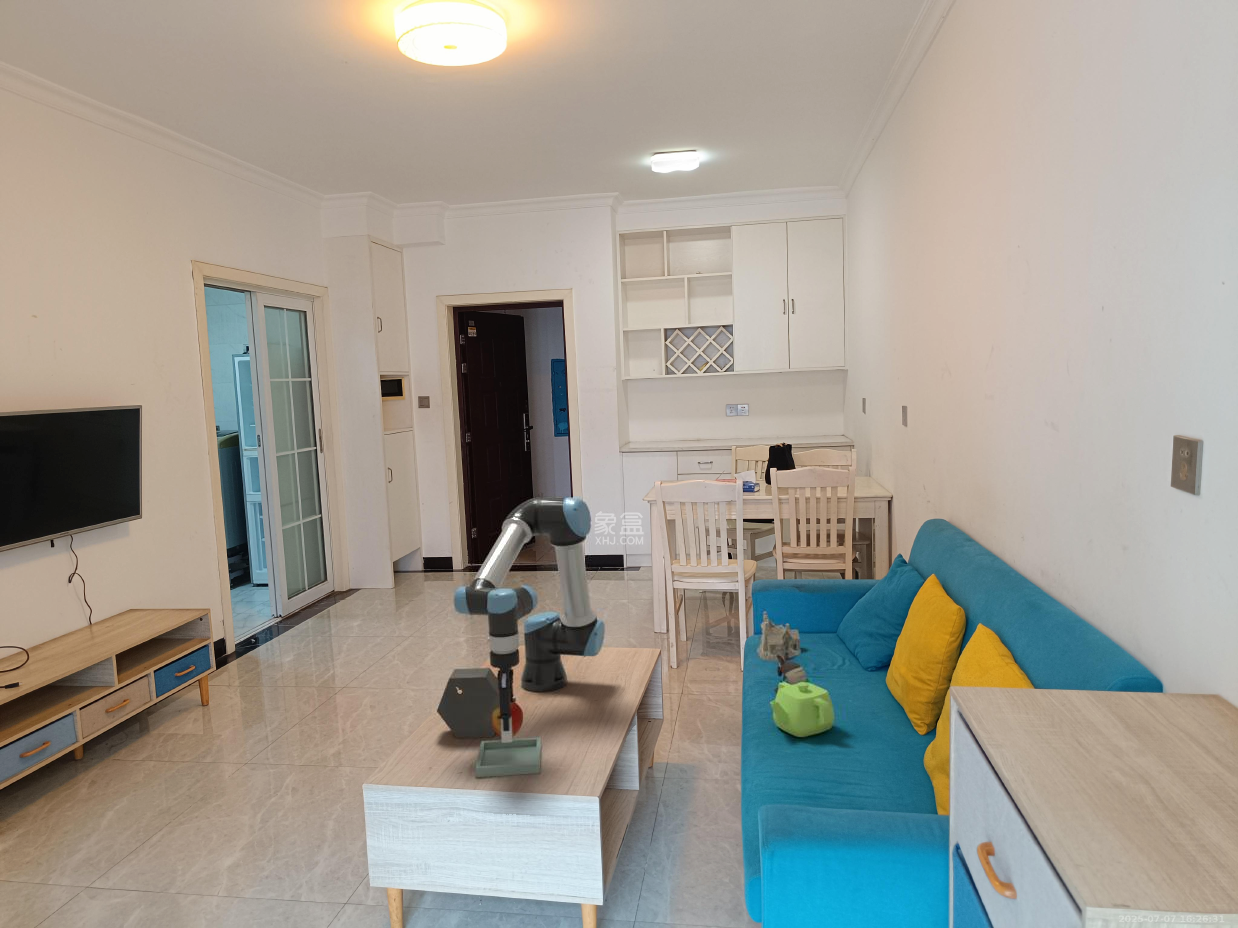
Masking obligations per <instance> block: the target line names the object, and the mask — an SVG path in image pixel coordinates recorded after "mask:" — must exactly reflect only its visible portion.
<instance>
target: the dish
mask: <svg viewBox="0 0 1238 928" xmlns="http://www.w3.org/2000/svg"><path fill="white" fill-rule="evenodd" d="M512 739H513V742H507V743H502V739H495V740H494V739H493V740H481V742H480V746H479V751H478V755H477V759H476V764H475V769H474V770H475V778H489V777H501V776H502V777H503V776H505V777H506V776H518V775H530V774H531V775H532V774H540V773H541V758H542V755H541V754H542V738H541V737H539V736H538V737H527V738H523V737H522V738H512Z"/></svg>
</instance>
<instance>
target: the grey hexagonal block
mask: <svg viewBox="0 0 1238 928" xmlns="http://www.w3.org/2000/svg"><path fill="white" fill-rule="evenodd" d="M459 691H461V693H459ZM499 706H500V696H499V689H498V679H497V675H495V673H494V672H493V670H492V669H491V668H490V667H479V668H475V667H474V668H454V670H453V672H452V673H451V675H450V676H449V678H448V681H447V683H446V686H445V689H444V691H443V694H442V696H441V699H440V702H439V704H438V707H437V710H436V712H437V714H438V715H439V716H440V718H441V719H442V720H443V722H444V723H445V724H446V726H447V727H448V728H449V729H450V731H451V733H453V735H454V736H455V738H456V739H477V738H478V739H481V738H493V737H495V734H496V731H495V730H494V728H493V725H492V713H493V711H494V710H495V709H496V708H498V707H499Z"/></svg>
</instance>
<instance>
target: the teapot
mask: <svg viewBox="0 0 1238 928" xmlns="http://www.w3.org/2000/svg"><path fill="white" fill-rule="evenodd" d="M777 687H778V692H777V694H776V695H775V696H776V697H775V700H772V701H770V702H769V705H770V706H771V709H772V711H773V712H772V718H773V721H774V723H775V726H776V727H778V728H779V729H781V730H783V731H784V732H787V733H788V734H790V735H792V736H794V737H797V738H807V737H809V736H815V735H817V734H821V733H823V732H826V731H828V730H830V729H832V727H833V725H834V723H835V713H834V708H833V707H834V706H833V702H832V699H831V697H830V694H829V691H828V690H826V689H825V688H823V687H820V686H818V685H815V684H814V683H813V684H811V683H805V682H800V683H797V684H794V685H790V684H788V683H786V681H782V683H781V682H779V683H778V686H777Z"/></svg>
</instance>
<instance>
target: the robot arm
mask: <svg viewBox="0 0 1238 928" xmlns="http://www.w3.org/2000/svg"><path fill="white" fill-rule="evenodd" d="M591 523H592V517H591V511H590V509H589V505H588V504H587V503H586V501H584V500H583V499H581V498H579V497H571V496H567V497H534V498H530V499H527V500H526V501H524V502H522V503H520V504H519V505H518V506H516V507H515V508H514V509H513V510H512V511H511V512H510V513H509V514H508V515H507V517H506V518H505V519H504V521H503V523H502V526H501V533H500V534H499V536H498V538H497V539H496V541H495V543H494V544H493V546H492V548H491V549H490V551H489V553H488V555H487V556H486V558H485V560H484V562H483V563H482V564H481V567H480V568H479V569H478V571H477V573H476V575H475V576H474V578H473V580H472V581H471V582H470V585H469V586H467V585H464V586H460V587H458V588H456V590H455V593H454V596H453V607H454V610H455V611H456V612H457V613H458V614H460V615H461V614H462V615H469V616H487V619H488V620H487V621H488V637H487V638H486V642H489V650H490V652H489V664H490V666H491V667H492V668H494V669H497V674H496V677H497V679H498V689H499V696H500V716H498V719H501V736H500V738H501V740H502V743H507V742H513V739H514V738H513V737H512V717H511V708H510V702H515V703H516V701H517V699H516V698H514V686H513V684H514V669H512V668H514V667H516V666H518V665H519V663H520V650H519V647H520V640H519V637H520V636H519V635H520V634H519V626H518V624H519V622H518V621H519V620H520V619H522V618H524V617H526V616H527V615H529V614H531V612H532V611H533V610H535V608H537V605H538V595H537V591H535V590H534V589H533V588H532V587H531V586H528V585H521V586H517V587H515V588H504V587H503V588H502V587H501V586H502V584H503V583H504V581H505V579H506V577H507V575H508V573H509V572H510V569H511V568H512V566H513V564H514V562H515V560H516V559H517V557H518V555H519V553H520V551H522V548H523V546H524V545H525V544H526V543H527V544H528V542H530V540H531V539H532V537H534V536H547V537H548V542H549V544H550V545H551V546H552V547H554V550H555V556H556V557H555V559H556V564H557V572H558V578H559V584H560V592H561V598H562V599H561V600H562V607H563V611H564V613H563V614H562V615H560V614H559V613H558V612H556V611H546V612H545V611H544V612H540V613H536V614H532V615H530V616H529V617H527V618H526V619H525V621H524V622H523V623H524V624H523V637H524V654H525V655H524V656H525V664H524V667H523V670H522V674H521V677H520V684H521V687H522V688H523V689H525V690H527V691H531V692H551V691H555V690H558V689H561V688H563V687H565V686H566V684H567V683H568V675H567V673H566V670H565V667H564V664H563V661H562V658H561V657H562V655H563V656H574V657H575V656H577V657H583V658H586V657H595V656H597V655H599V653H600V651H601V650H602V648H603V647H602V646H603V643H604V641H605V631H606V630H605V629H606V625H605V622H604V621H603V620H601V619H598V617H597V612H596V611H595V610H593V609H592V608H591V607H592V606H591V599H590V591H589V587H588V585H589V583H588V578H587V570H586V562H585V556H584V555H585V554H584V546H583V543H584V542H585V541H586V539H587V536H588V535H589V534H590V532H591V527H592V524H591Z"/></svg>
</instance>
